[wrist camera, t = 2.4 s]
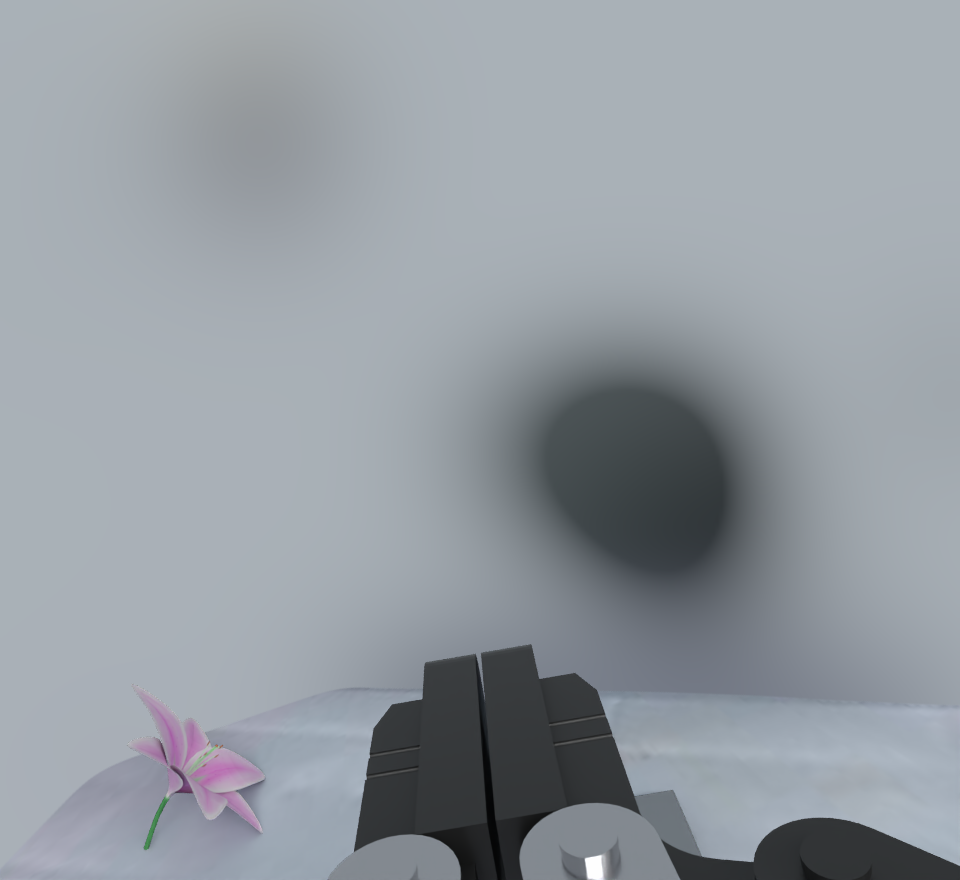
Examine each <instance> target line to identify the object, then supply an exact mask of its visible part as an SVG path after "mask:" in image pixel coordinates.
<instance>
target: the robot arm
mask: <svg viewBox="0 0 960 880" xmlns="http://www.w3.org/2000/svg"><path fill="white" fill-rule="evenodd" d="M481 658H482V670H483V681H484V693H485V699H484V693H483V688H482V682H481V677H480V671H479V666H478V661H477V657H476V654H473V655H467V656H461V657H455V658H449V659H443V660H437V661H432V662H426V663H425V666H424V684H423V699H422V700H416V701H410V702H404V703H398V704H392V705H391V707H390V708H389V709H388V711H387V712H386V713H385V714H384V716H383V717H382V718H381V720H380V721H379V722H378V724H377V725H376V726H375V727H374V730H373V736H372V742H371V748H370V759H369V761H368V767H367V773H366V776H367V780H365V786H364V792H363V798H362V804H361V811H360V817H359V823H358V829H357V836H356V842H355V848H354V853H352V854H351V855H350V856H348V857H347V858H346V859H345V860H343V861H342V862H341V863H340V864H339V865H338V866H337V867H336V868H335V870H334V871H333V872H332V873H331V874H330V876H329V878H328V879H327V880H960V866H958V865H956V864H954V863H951V862H949V861H947V860H945V859H942V858H940V857H938V856H935V855H933V854H931V853H928V852H926V851H924V850H921V849H919V848H917V847H914V846H912V845H910V844H907V843H905V842H903V841H900V840H898V839H896V838H893V837H891V836H889V835H886V834H884V833H882V832H879V831H877V830H875V829H872V828H870V827H867V826H864V825H861V824H859V823H855V822H851V821H847V820H841V819H834V818H808V819H801V820H797V821H792V822H790V823H787V824H784V825H782V826H780V827H778V828H776V829H774V830H773V831H771V832H770V833H769V834H768V835H767V836H765V837H764V839H763V840H762V841H761V843H760V844H759V846H758V848H757V850H756V852H755V857H754V862H744V861H732V860H720V859H713V858H705V857H701V856H697V855H693V854H690V853H687V852H685V851H682V850H679V849H677V848H675V847H673V846H671V845H669V844H668V843H666V842H665V841H663V840H662V839H660V837H659V835H658V833H657V832H656V830H655V828H654V827H653V826H652V825H651V824H650V823H649V822H648V821H647V820H646V819H645V818H643V817H642V816H641V814H640V811H639V808H638V805H637V803H636V800H635V797H634V794H633V791H632V788H631V786H630V783H629V780H628V777H627V774H626V771H625V769H624V766H623V763H622V760H621V757H620V754H619V752H618V749H617V746H616V743H615V740H614V738H613V736H612V732H611V729H610V726H609V723H608V720H607V718H606V716H605V712H604V709H603V706H602V703H601V701H600V698H599V695H598V692H597V690H596V689H595V688H593V687H592V686H591V685H590V684H588V683H587V682H585V681H584V680H583V679H582V678H581V677H579V676H578V675H577V674H575V673H573V674H567V675H561V676H555V677H550V678H544V679H539V677H538V672H537V668H536V664H535V659H534V654H533V650H532V645H531V644H530V645H525V646H519V647H513V648H507V649H501V650H495V651H489V652H483V653H481Z"/></svg>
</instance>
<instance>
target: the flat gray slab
mask: <svg viewBox="0 0 960 880" xmlns="http://www.w3.org/2000/svg"><path fill="white" fill-rule="evenodd" d="M635 800H636V803H637V805H638V808H639V811H640V814H641V816H642V817H643V818H645V819H646V820H647V821H648V822H649V823H650V824H651V825H652V826H653V827H654V828H655V830H656V832H657V833H658V835H659V837H660V839H662V840H663V841H665V842H666V843H668V844H669V845H671V846H673V847H675V848H677V849H679V850H682V851H685V852H687V853H690V854H693V855H697V856H701V854H700V851H699V849H698V847H697V844H696V842H695V840H694V837H693V835H692V833H691V830H690V828H689V826H688V823H687V821H686V819H685V816H684V814H683V812H682V809H681V807H680V805H679V803H678V800H677V798H676V796H675V793H674V791H673V790H670V791H664V792H659V793H653V794H647V795H641V796H635ZM701 857H702V856H701Z"/></svg>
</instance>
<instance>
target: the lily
mask: <svg viewBox="0 0 960 880" xmlns="http://www.w3.org/2000/svg"><path fill="white" fill-rule="evenodd" d="M132 687H133V689H134V691H135V692H136V693H137V695H138V696H139V698H140V699H141V700H142V701H143V703H144V705H145V706H146V708H147V709H148V711H149V713H150V715H151V717H152V719H153V721H154V723H155V725H156V728H157V730H158V733H159V735H160V738H161V741H162V743H161V742H160V740H159V739H157V738H155V737H143V738H138V739H135V740H132V741H130V742H128V744H127V746H128V747H130V748H131V749H133V750H135V751H137V752H139V753H141V754H143V755H145V756H147V757H149V758H151V759H152V760H154V761H156V762H158V763H160V764H162V765H164V766H166V767H167V769H168V778H169V789H168V792H167V794H166V796H165V798H164V799H163V801H162V803H161V805H160V807H159V809H158V811H157V813H156V815H155V817H154V820H153V823H152V825H151V828H150V831H149V834H148V837H147V840H146V843H145V846H144V849H145V850H147V849H148V848H149V846H150V842H151V839H152V836H153V833H154V830H155V827H156V825H157V822H158V819H159V817H160V815H161V813H162V811H163V809H164V807H165V805H166V803H167V802H168V800H169V799H170V797H171V796H172V795H173V794H174V793H192V794H194V795H195V797H196V800H197V802H198V804H199V806H200V808H201V810H202V812H203V814H204V816H205V817H206V818H207V819H208V820H213V819H215V818H216V817H218V816H219V814H220V813H221V812H222V811H223V809H224V808H225V807H226V806H228V807H229V808H230V809H232V810H233V811H234V812H236V813H237V814H238V815H240V816H241V817H242V818H243V819H245V820H246V821H247V822H248V823H250V824H251V825H252V826H253V827H255V828H256V829H257V830H258V831H259V832H260V833H262V831H263V830H262V827H261V825H260V823H259V821H258V819H257V818H256V816H255V814H254V813H253V811H252V810H251V808H250V807H249V805H248V804H247V802H246V801H245V800H244V799H243V797H242V796H241V795H240V794H239V793H238V792H237V791H235V790H239V789H242V788H245V787H248V786H250V785H252V784H254V783H257V782H260V781H262V780H264V779H265V776H264V774H263V773H262V771H261V770H259V769H258V768H257V767H256V766H255V765H253V764H252V763H251V762H249V761H248V760H247V759H245V758H243V757H242V756H240V755H238V754H237V753H235V752H233V751H230V750H228V749H226V748H221V747H222V746H223V745H222V746H219V747H218V745H215V747H211V744H210V741H209V740H208V738H207V736H206V734H205V732H204V731H203V729H202V728H201V726H200V725H199V724H198V723H197V722H196V721H195V720H194V719H192V718H188V719H186V720H185V721H184V722H183V723H181V721H180V720H179V718H178V717H177V715H176V714H175V713H174V712H173V711H172V710H171V709H170V708H169V707H168V706H167V705H165V704H164V703H163V702H161V701H160V700H159V699H157V698H156V697H155V696H153V695H152V694H150V693H149V692H147V691H146V690H144V689H142V688H140V687H138V686H137V685H134V684H132ZM162 744H163V745H162ZM163 747H164V748H163ZM164 750H165V751H164ZM165 754H166V755H165ZM166 757H167V761H168V764H169V765H168V764H167V761H166ZM262 834H263V833H262Z"/></svg>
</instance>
